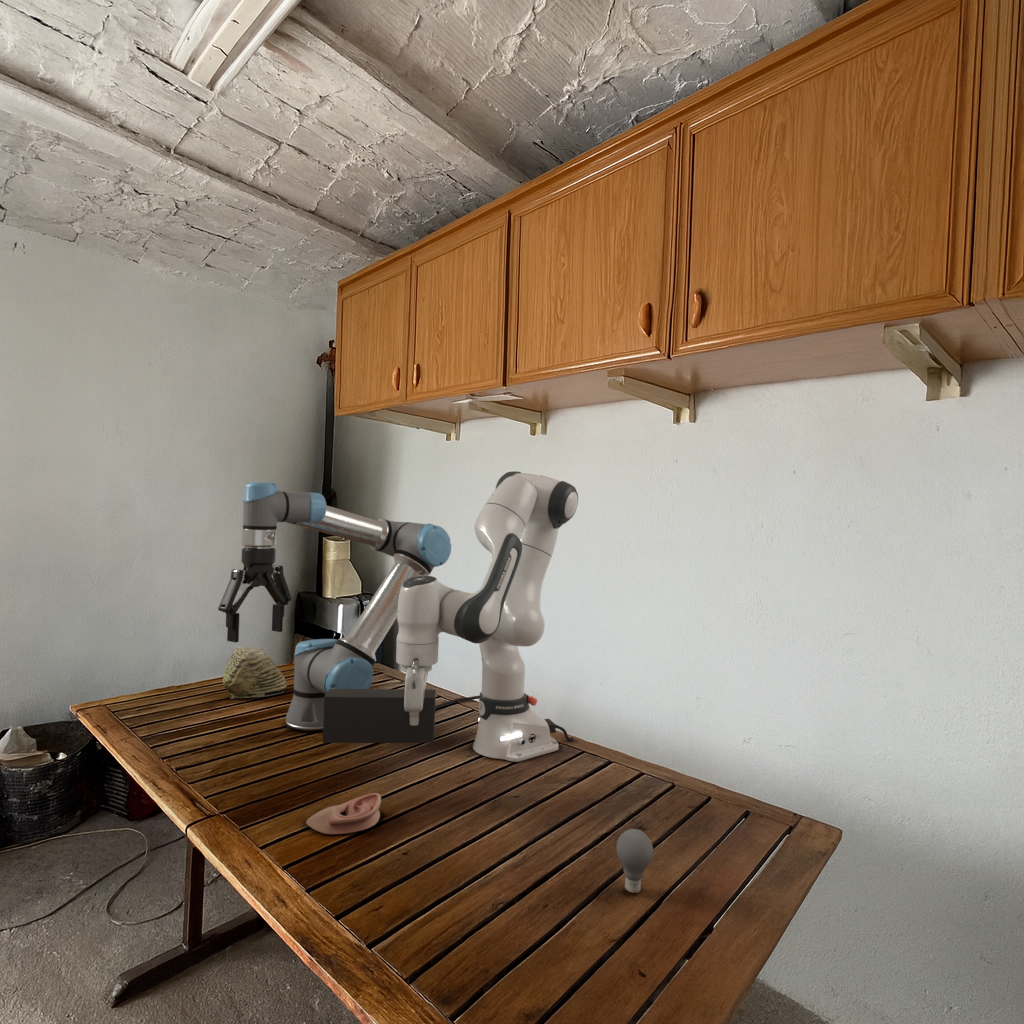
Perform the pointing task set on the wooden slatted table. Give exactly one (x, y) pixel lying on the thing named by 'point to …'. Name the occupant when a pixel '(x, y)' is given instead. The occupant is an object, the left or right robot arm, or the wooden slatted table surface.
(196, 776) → the wooden slatted table surface
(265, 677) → the fossil
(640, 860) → the light bulb
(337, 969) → the wooden slatted table surface
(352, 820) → the anatomical model
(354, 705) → the bar
